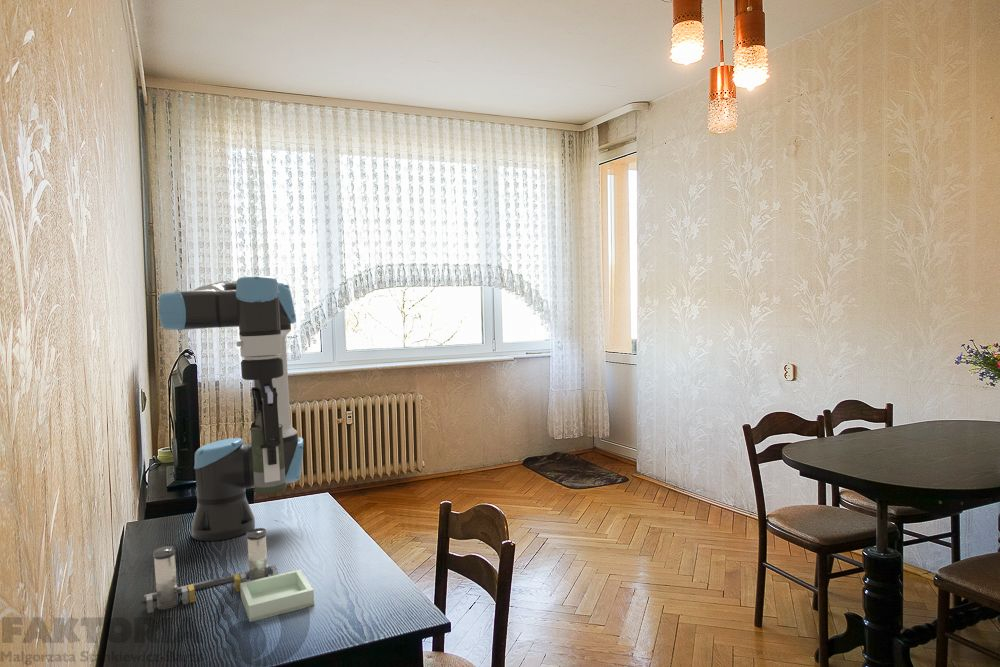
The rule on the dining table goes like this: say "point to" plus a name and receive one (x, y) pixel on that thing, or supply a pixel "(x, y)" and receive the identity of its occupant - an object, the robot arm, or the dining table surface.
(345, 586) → the dining table surface
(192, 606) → the dining table surface
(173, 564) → the fuse rail
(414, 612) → the dining table surface
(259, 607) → the tray
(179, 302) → the robot arm
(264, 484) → the grenade
